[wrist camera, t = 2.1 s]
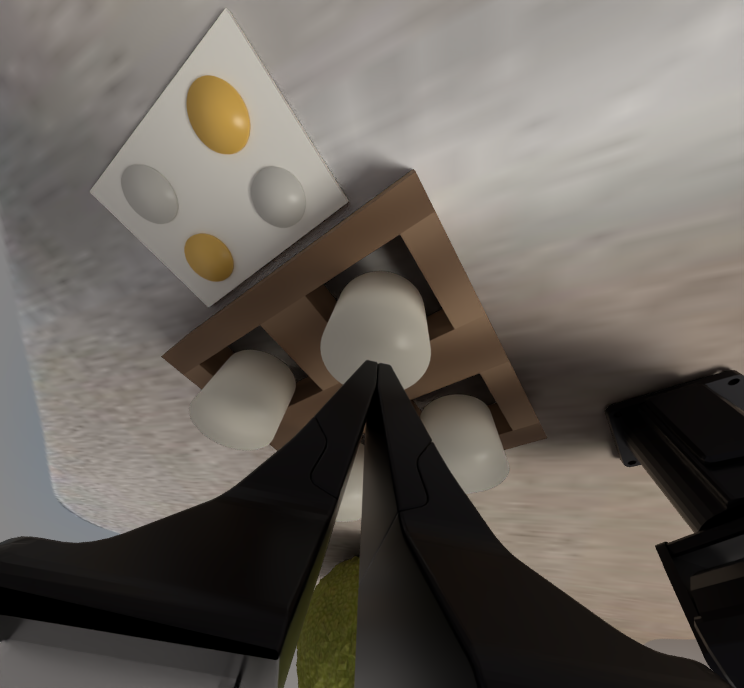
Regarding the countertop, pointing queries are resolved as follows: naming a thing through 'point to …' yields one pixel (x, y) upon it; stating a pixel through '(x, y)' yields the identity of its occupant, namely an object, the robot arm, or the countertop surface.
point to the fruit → (330, 630)
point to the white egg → (378, 328)
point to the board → (315, 305)
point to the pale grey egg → (467, 441)
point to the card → (219, 170)
